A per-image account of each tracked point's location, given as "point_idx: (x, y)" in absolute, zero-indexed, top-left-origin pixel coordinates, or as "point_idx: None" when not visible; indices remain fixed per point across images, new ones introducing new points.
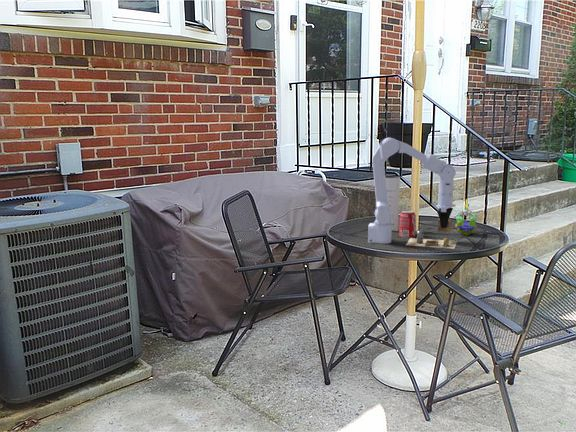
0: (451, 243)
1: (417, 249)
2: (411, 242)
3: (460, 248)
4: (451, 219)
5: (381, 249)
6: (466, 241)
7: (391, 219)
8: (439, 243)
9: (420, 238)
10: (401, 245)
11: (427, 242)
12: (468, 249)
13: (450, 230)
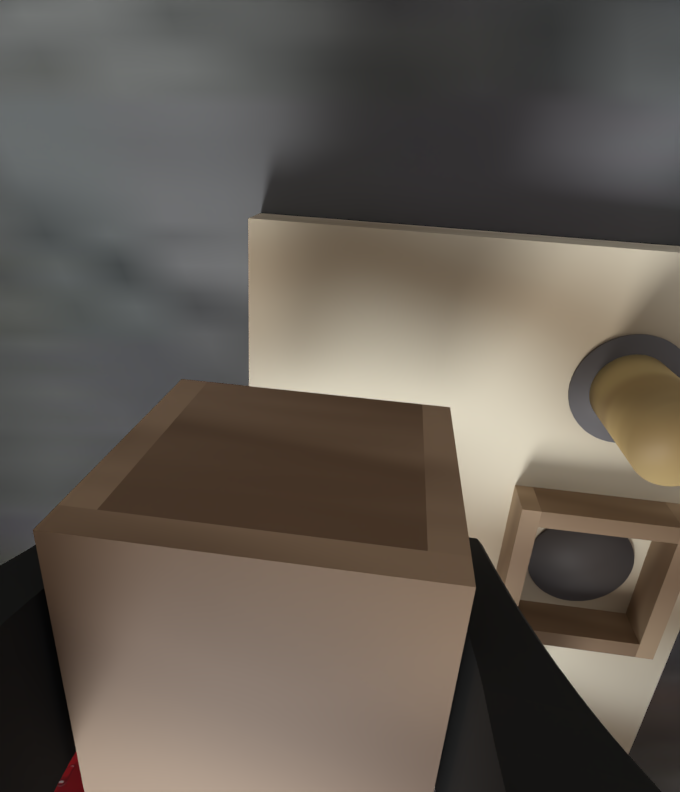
0: (451, 307)
1: (664, 667)
2: None
3: (568, 154)
4: (168, 541)
5: None
6: (41, 47)
7: None
8: (478, 469)
9: None
10: None
11: (552, 621)
12: (633, 4)
13: (437, 418)
